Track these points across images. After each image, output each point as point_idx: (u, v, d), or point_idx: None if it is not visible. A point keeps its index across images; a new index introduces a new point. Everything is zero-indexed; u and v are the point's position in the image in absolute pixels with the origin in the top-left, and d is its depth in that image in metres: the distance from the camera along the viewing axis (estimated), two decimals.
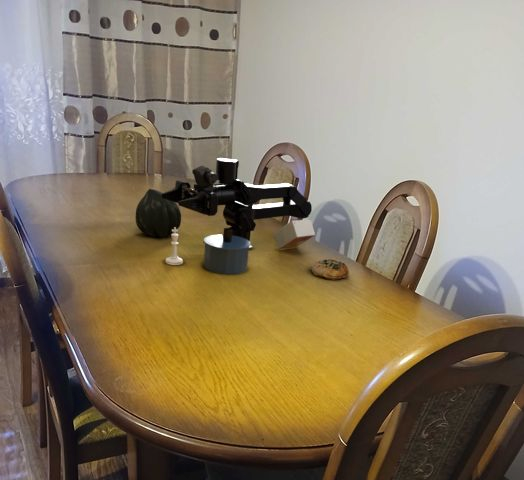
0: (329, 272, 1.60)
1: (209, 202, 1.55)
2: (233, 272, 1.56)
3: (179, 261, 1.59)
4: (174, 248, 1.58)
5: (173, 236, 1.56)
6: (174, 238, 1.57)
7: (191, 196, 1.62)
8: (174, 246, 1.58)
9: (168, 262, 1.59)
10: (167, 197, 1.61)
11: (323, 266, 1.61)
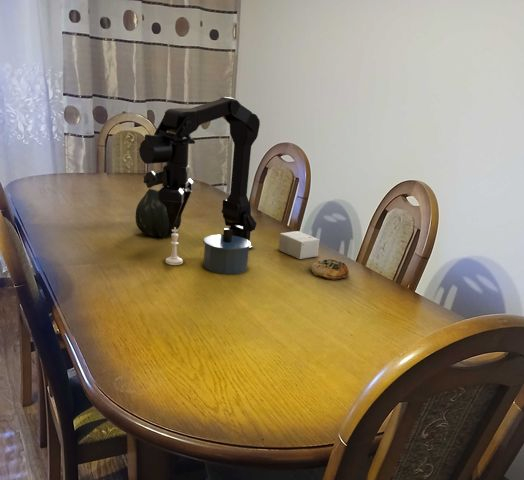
0: (329, 272, 1.60)
1: None
2: (233, 272, 1.56)
3: (179, 261, 1.59)
4: (174, 248, 1.58)
5: (173, 236, 1.56)
6: (174, 238, 1.57)
7: None
8: (174, 246, 1.58)
9: (168, 262, 1.59)
10: (180, 210, 1.58)
11: (323, 266, 1.61)
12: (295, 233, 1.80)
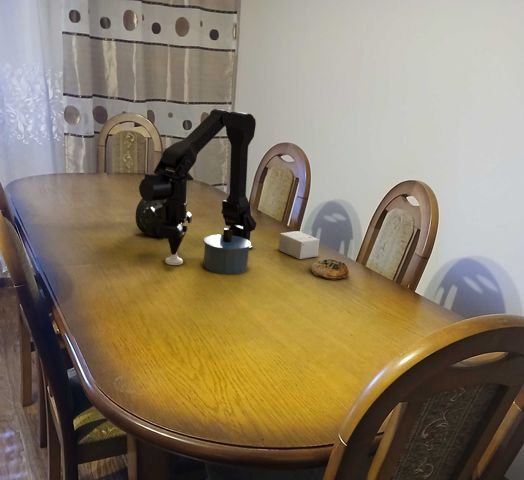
0: (329, 272, 1.60)
1: None
2: (233, 272, 1.56)
3: (179, 261, 1.59)
4: None
5: None
6: None
7: None
8: None
9: (168, 262, 1.59)
10: None
11: (323, 266, 1.61)
12: (295, 233, 1.80)
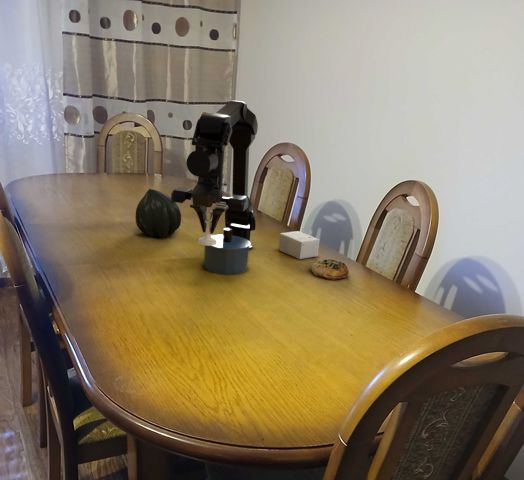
0: (329, 272, 1.60)
1: None
2: (233, 272, 1.56)
3: None
4: (210, 227, 1.45)
5: (212, 213, 1.43)
6: (211, 215, 1.43)
7: None
8: None
9: (213, 243, 1.45)
10: (205, 225, 1.45)
11: (323, 266, 1.61)
12: (295, 233, 1.80)
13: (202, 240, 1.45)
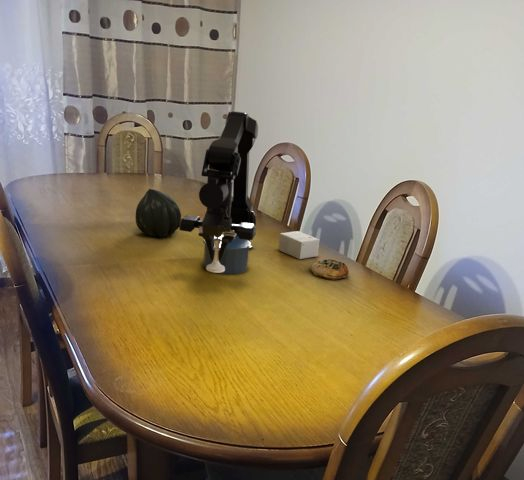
0: (329, 272, 1.60)
1: None
2: (233, 272, 1.56)
3: (221, 265, 1.48)
4: (218, 254, 1.45)
5: (220, 241, 1.44)
6: None
7: None
8: (218, 252, 1.45)
9: (222, 270, 1.46)
10: (213, 252, 1.46)
11: (323, 266, 1.61)
12: (295, 233, 1.80)
13: (210, 267, 1.46)
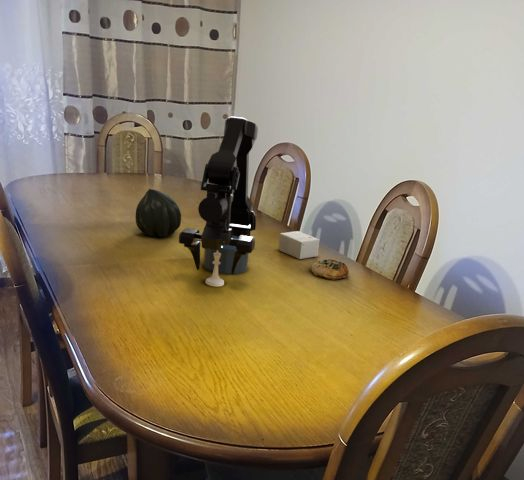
0: (329, 272, 1.60)
1: None
2: None
3: None
4: None
5: (220, 255, 1.45)
6: (219, 257, 1.46)
7: None
8: None
9: (221, 284, 1.48)
10: (199, 262, 1.48)
11: (323, 266, 1.61)
12: (295, 233, 1.80)
13: (210, 281, 1.47)
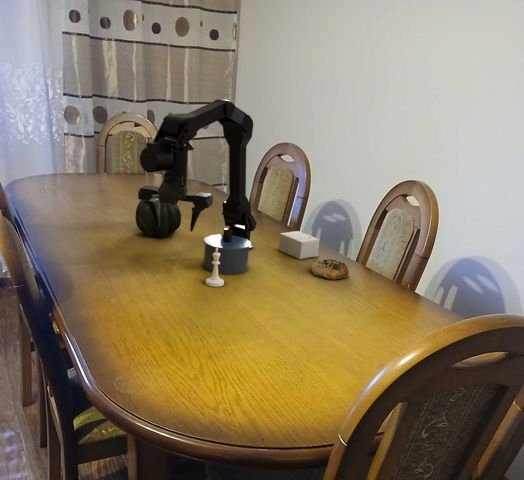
0: (329, 272, 1.60)
1: None
2: (233, 272, 1.56)
3: None
4: (217, 268, 1.47)
5: (219, 255, 1.45)
6: None
7: None
8: (217, 266, 1.47)
9: (221, 284, 1.48)
10: (159, 219, 1.51)
11: (323, 266, 1.61)
12: (295, 233, 1.80)
13: (209, 281, 1.47)
